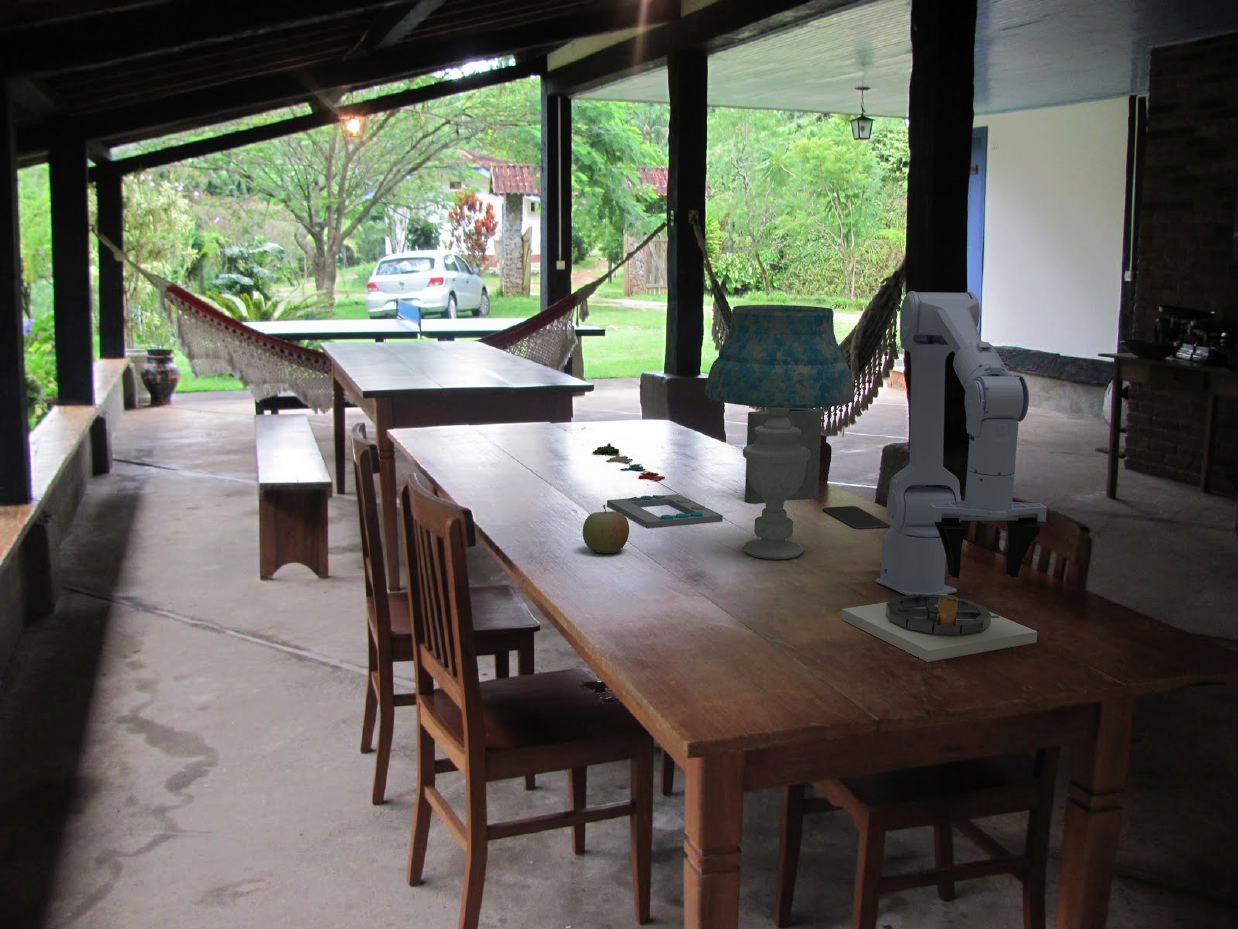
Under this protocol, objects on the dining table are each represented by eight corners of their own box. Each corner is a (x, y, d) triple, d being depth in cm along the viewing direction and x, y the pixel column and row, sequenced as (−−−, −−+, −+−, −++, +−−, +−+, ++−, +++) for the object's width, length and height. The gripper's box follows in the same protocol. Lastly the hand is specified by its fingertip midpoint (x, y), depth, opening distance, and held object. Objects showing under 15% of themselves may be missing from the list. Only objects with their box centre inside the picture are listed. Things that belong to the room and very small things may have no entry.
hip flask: (749, 504, 236) (753, 401, 233) (739, 499, 240) (743, 398, 236) (821, 498, 242) (825, 397, 239) (810, 494, 246) (814, 395, 242)
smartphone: (855, 527, 218) (820, 507, 232) (854, 532, 218) (820, 512, 232) (893, 525, 220) (856, 505, 234) (892, 530, 220) (855, 510, 234)
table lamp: (753, 580, 186) (763, 315, 179) (673, 543, 207) (679, 304, 199) (876, 562, 198) (891, 311, 190) (788, 528, 218) (798, 301, 210)
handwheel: (880, 601, 171) (882, 568, 171) (977, 604, 170) (979, 571, 170) (895, 633, 158) (897, 598, 157) (1000, 637, 157) (1002, 602, 156)
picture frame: (607, 497, 233) (678, 491, 239) (606, 509, 233) (677, 503, 239) (647, 519, 216) (722, 512, 222) (647, 532, 217) (722, 525, 223)
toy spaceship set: (586, 454, 287) (586, 441, 286) (612, 453, 289) (612, 440, 288) (641, 485, 254) (642, 470, 254) (669, 483, 257) (670, 469, 256)
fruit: (603, 560, 196) (604, 512, 195) (574, 551, 202) (574, 503, 200) (638, 552, 201) (639, 505, 200) (609, 543, 207) (610, 497, 205)
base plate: (841, 619, 169) (842, 608, 169) (944, 603, 177) (945, 592, 176) (927, 662, 153) (928, 649, 153) (1036, 642, 161) (1037, 631, 160)
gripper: (944, 477, 150) (937, 584, 153) (1060, 477, 151) (1051, 584, 154) (926, 466, 157) (919, 568, 159) (1037, 466, 158) (1028, 568, 161)
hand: (982, 575), depth 157 cm, fingers open, 7 cm apart
